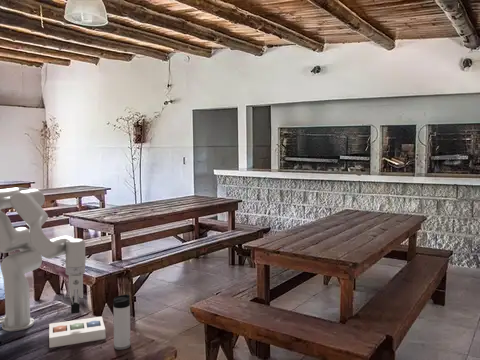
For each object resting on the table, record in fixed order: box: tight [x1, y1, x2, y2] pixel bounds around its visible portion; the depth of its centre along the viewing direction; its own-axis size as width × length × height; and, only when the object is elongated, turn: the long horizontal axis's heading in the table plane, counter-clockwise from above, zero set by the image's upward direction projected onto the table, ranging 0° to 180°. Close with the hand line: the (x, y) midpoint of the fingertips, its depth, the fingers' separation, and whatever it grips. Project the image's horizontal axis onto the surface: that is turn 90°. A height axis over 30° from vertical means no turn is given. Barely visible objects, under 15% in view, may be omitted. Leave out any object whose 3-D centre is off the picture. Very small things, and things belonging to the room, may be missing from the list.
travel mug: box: [112, 294, 131, 351], centre depth 172 cm, size 6×7×20 cm
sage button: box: [71, 323, 83, 330], centre depth 181 cm, size 5×5×4 cm
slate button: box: [88, 321, 99, 327], centre depth 184 cm, size 5×5×4 cm
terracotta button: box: [54, 326, 66, 333], centre depth 178 cm, size 5×5×4 cm
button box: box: [48, 316, 107, 349], centre depth 181 cm, size 21×14×4 cm, turn 113°
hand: (75, 312), depth 180 cm, fingers closed
